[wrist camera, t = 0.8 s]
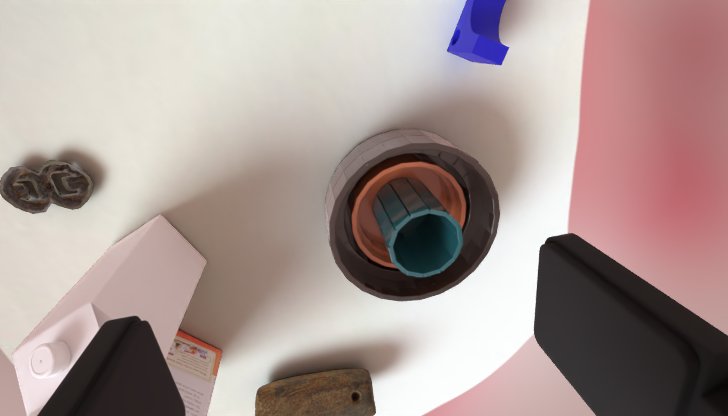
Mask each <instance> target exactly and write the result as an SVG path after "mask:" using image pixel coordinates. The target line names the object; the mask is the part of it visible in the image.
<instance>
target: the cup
mask: <svg viewBox="0 0 728 416" xmlns="http://www.w3.org/2000/svg"><path fill="white" fill-rule="evenodd" d="M372 212H373V216H374V220H375V223H376V226H377V228H378V230H379V233H380V235H381V238H382V240H383V242H384V245H385V247H386V250H387V252H388V254H389V257H390V259H391V262H392V263H393V265H394V266H396V267H397V268H398V269H399V270H400V271H401V272H403V273H404V274H406V275H410V276H416V277H427V276H431V275H434V274H437V273H441V271H444V270H445V269H446V268H447V267H448V266H449V265H451V264H452V263H453V262H454V261H455V258H456V259H457V257H458V254H459V252H460V250H461V247H462V245H463V243H462V242H463V236H462V229H461V226H460V224H459V223H458V221H457V220H456V219H455V218H454V217H453V216H452V215H451V213H450V212H449V211H448V210H447V209H446V208H445V207H444V205H443V204H442V203H441V202H440V201H439V200H438V199H437V197H436V196H435V195H434V194H433V193H432V192H431V191H430V190H429V189H428V188H427V187H426V185H424V183H423V182H421V181H419V180H417V179H414V178H410V177H401V178H396V179H393V180H391V181H389V182H387V183H386V184H385V185H383V186H382V187H381V188H380V189H379V191H378V192H377V194H376V195H375V198H374V200H373V205H372Z"/></svg>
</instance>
